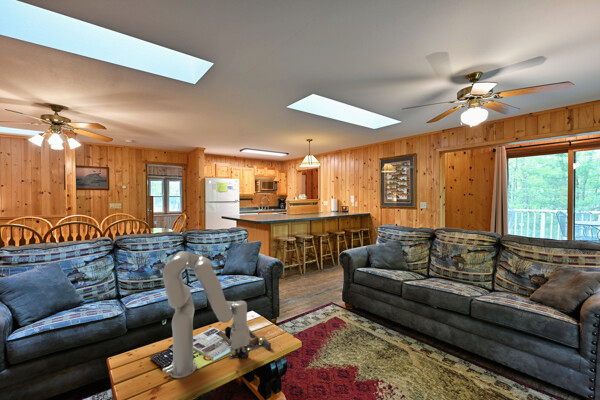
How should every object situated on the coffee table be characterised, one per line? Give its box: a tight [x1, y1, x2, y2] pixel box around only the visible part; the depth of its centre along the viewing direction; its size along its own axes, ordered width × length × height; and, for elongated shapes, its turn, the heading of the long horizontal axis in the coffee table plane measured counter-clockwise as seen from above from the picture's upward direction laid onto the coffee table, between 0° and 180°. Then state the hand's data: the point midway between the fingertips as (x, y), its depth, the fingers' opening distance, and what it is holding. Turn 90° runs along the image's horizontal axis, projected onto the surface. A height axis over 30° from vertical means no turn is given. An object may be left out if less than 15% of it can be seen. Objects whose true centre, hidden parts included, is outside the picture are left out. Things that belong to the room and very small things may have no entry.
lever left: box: [229, 349, 250, 359], centre depth 146 cm, size 11×4×3 cm, turn 70°
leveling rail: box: [227, 343, 264, 360], centre depth 153 cm, size 25×4×1 cm, turn 128°
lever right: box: [258, 335, 272, 351], centre depth 156 cm, size 11×4×3 cm, turn 38°
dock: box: [218, 329, 259, 349], centre depth 164 cm, size 16×22×3 cm
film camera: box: [224, 326, 232, 339], centre depth 166 cm, size 15×10×9 cm, turn 81°
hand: (239, 358), depth 143 cm, fingers closed
